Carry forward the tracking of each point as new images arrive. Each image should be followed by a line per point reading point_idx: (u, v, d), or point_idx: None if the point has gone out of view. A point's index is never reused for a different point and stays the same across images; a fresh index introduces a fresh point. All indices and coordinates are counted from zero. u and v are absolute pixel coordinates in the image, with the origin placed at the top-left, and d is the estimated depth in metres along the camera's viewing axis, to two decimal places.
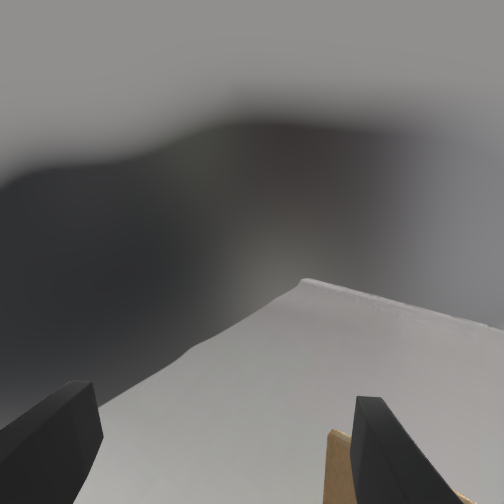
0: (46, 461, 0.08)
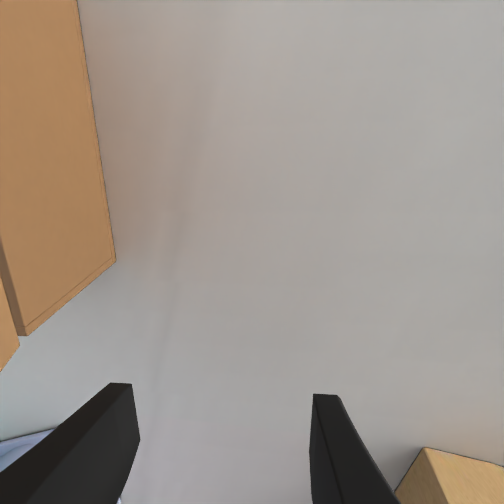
0: (93, 465, 0.08)
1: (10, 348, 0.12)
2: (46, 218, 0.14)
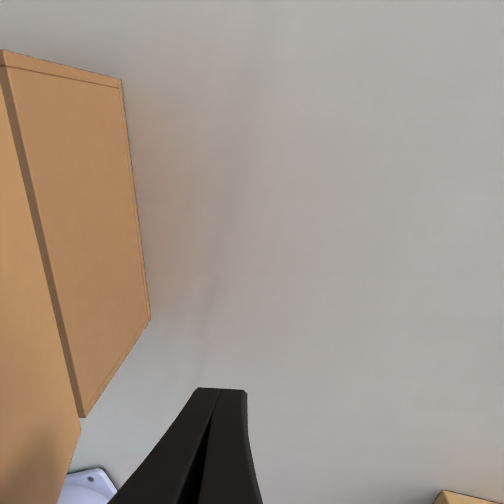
0: (202, 473, 0.08)
1: (75, 437, 0.13)
2: (99, 302, 0.15)
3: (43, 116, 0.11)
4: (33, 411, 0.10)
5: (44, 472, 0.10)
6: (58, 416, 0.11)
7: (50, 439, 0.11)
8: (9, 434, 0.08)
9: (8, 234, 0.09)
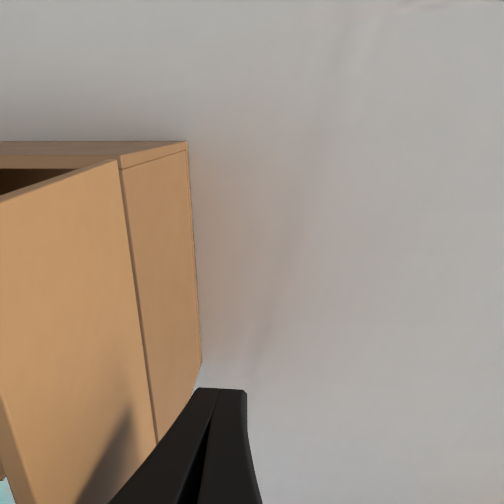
0: (202, 473, 0.08)
1: None
2: (172, 362, 0.15)
3: (142, 204, 0.12)
4: None
5: None
6: None
7: None
8: None
9: (124, 335, 0.10)
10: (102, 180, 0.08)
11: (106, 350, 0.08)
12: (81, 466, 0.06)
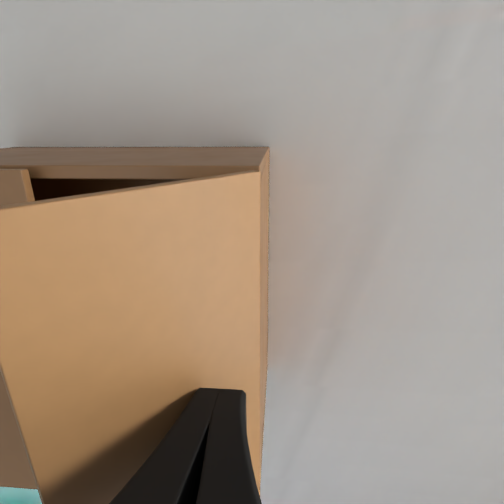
0: None
1: None
2: (263, 372, 0.15)
3: (262, 214, 0.11)
4: None
5: None
6: None
7: None
8: None
9: (221, 343, 0.10)
10: (218, 192, 0.08)
11: (177, 349, 0.08)
12: (99, 433, 0.07)
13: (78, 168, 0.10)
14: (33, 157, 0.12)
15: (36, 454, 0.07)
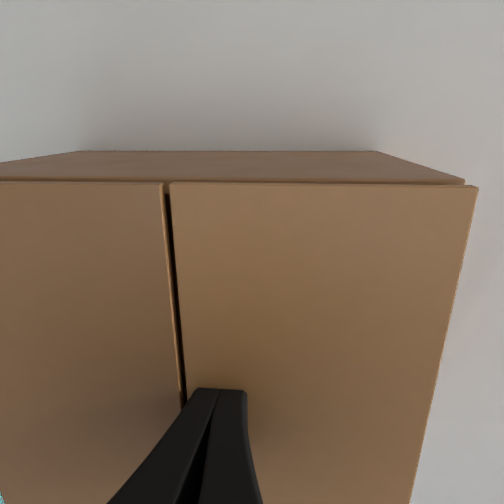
0: (201, 473, 0.08)
1: None
2: None
3: None
4: (315, 500, 0.10)
5: None
6: None
7: None
8: (275, 486, 0.10)
9: (372, 370, 0.09)
10: (400, 203, 0.07)
11: (316, 349, 0.09)
12: (233, 379, 0.09)
13: (223, 181, 0.08)
14: (136, 165, 0.10)
15: (188, 364, 0.09)
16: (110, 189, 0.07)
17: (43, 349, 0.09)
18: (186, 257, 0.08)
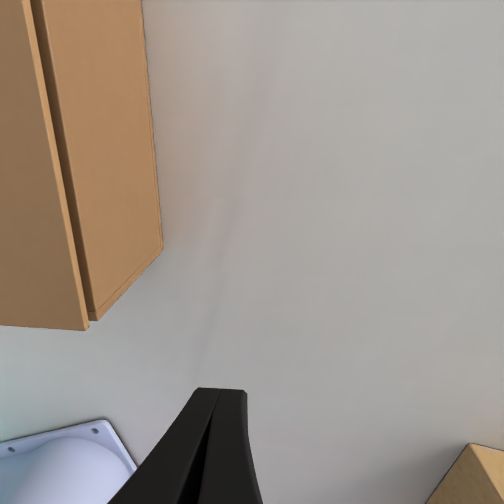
0: (201, 473, 0.08)
1: (66, 322, 0.12)
2: (113, 200, 0.13)
3: None
4: None
5: None
6: (32, 272, 0.11)
7: (10, 274, 0.11)
8: None
9: None
10: None
11: None
12: None
13: None
14: None
15: None
16: None
17: None
18: None
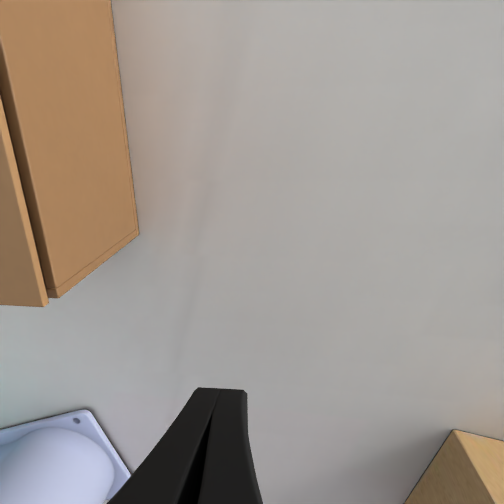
0: (202, 473, 0.08)
1: (24, 298, 0.12)
2: (76, 176, 0.13)
3: None
4: None
5: None
6: None
7: None
8: None
9: None
10: None
11: None
12: None
13: None
14: None
15: None
16: None
17: None
18: None
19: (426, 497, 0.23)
